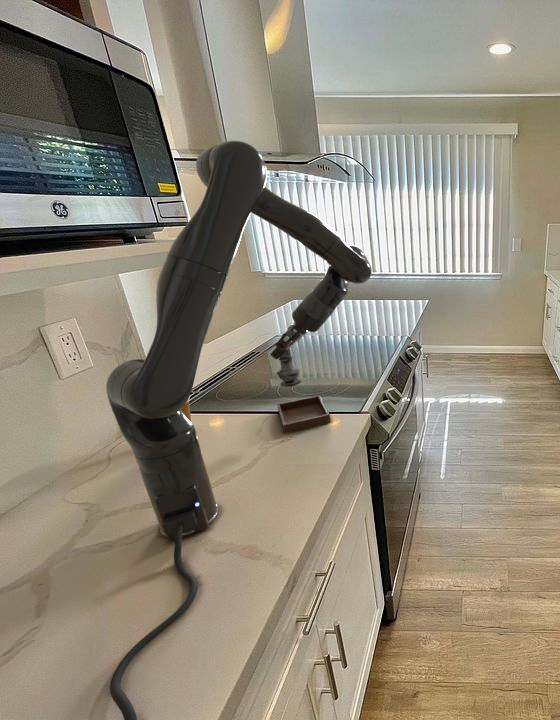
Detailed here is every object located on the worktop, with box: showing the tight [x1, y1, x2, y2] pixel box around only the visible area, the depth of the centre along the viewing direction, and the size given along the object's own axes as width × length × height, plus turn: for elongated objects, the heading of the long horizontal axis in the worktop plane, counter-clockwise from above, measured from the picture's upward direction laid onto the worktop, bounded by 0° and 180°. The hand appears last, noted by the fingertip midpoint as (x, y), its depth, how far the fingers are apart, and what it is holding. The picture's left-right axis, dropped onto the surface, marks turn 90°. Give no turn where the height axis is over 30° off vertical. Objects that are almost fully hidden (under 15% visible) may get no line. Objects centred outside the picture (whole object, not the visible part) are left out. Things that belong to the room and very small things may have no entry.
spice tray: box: [276, 394, 331, 434], centre depth 117 cm, size 15×12×3 cm
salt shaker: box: [276, 347, 302, 388], centre depth 108 cm, size 6×6×12 cm
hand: (277, 354), depth 107 cm, fingers closed on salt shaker, 3 cm apart
